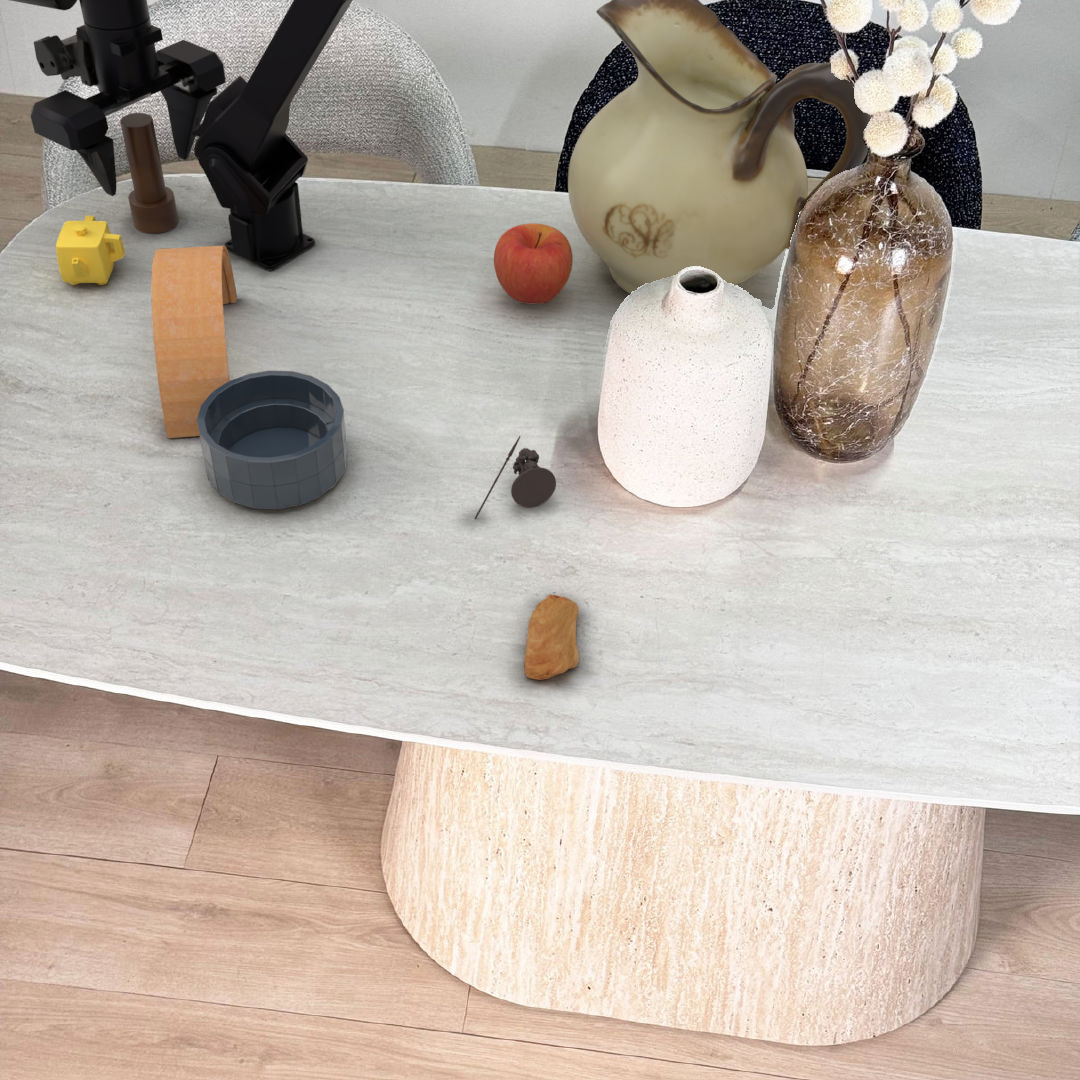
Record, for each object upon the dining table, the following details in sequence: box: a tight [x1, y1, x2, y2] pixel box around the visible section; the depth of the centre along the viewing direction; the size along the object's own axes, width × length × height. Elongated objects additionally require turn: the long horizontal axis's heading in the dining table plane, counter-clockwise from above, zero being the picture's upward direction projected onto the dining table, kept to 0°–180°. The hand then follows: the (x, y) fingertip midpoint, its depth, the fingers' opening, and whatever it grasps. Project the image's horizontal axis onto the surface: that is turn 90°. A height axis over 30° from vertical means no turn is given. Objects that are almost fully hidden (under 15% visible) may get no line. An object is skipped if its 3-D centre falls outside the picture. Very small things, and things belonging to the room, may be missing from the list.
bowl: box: [197, 370, 349, 510], centre depth 101 cm, size 11×11×6 cm
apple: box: [493, 222, 574, 305], centre depth 118 cm, size 7×7×8 cm
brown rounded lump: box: [523, 594, 580, 681], centre depth 90 cm, size 8×2×5 cm
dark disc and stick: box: [474, 435, 557, 520], centre depth 101 cm, size 5×8×4 cm
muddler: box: [119, 112, 179, 235], centre depth 124 cm, size 4×4×11 cm
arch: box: [150, 245, 238, 439], centre depth 108 cm, size 6×20×10 cm, turn 9°
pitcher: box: [567, 0, 871, 295], centre depth 117 cm, size 22×24×25 cm
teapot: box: [55, 215, 126, 286], centre depth 119 cm, size 8×6×5 cm
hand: (147, 175), depth 124 cm, fingers open, 9 cm apart
